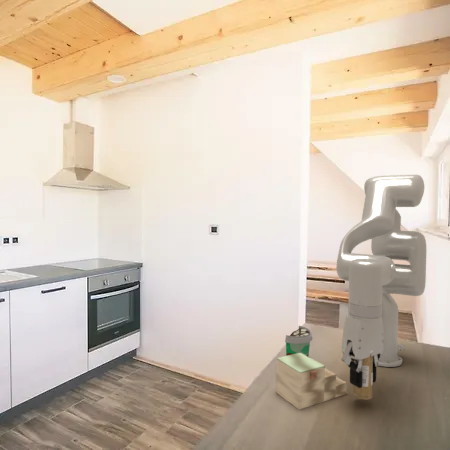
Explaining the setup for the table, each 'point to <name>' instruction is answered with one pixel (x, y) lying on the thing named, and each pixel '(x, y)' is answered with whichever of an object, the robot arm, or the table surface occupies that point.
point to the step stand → (306, 381)
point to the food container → (298, 341)
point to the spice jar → (365, 379)
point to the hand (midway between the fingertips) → (362, 381)
